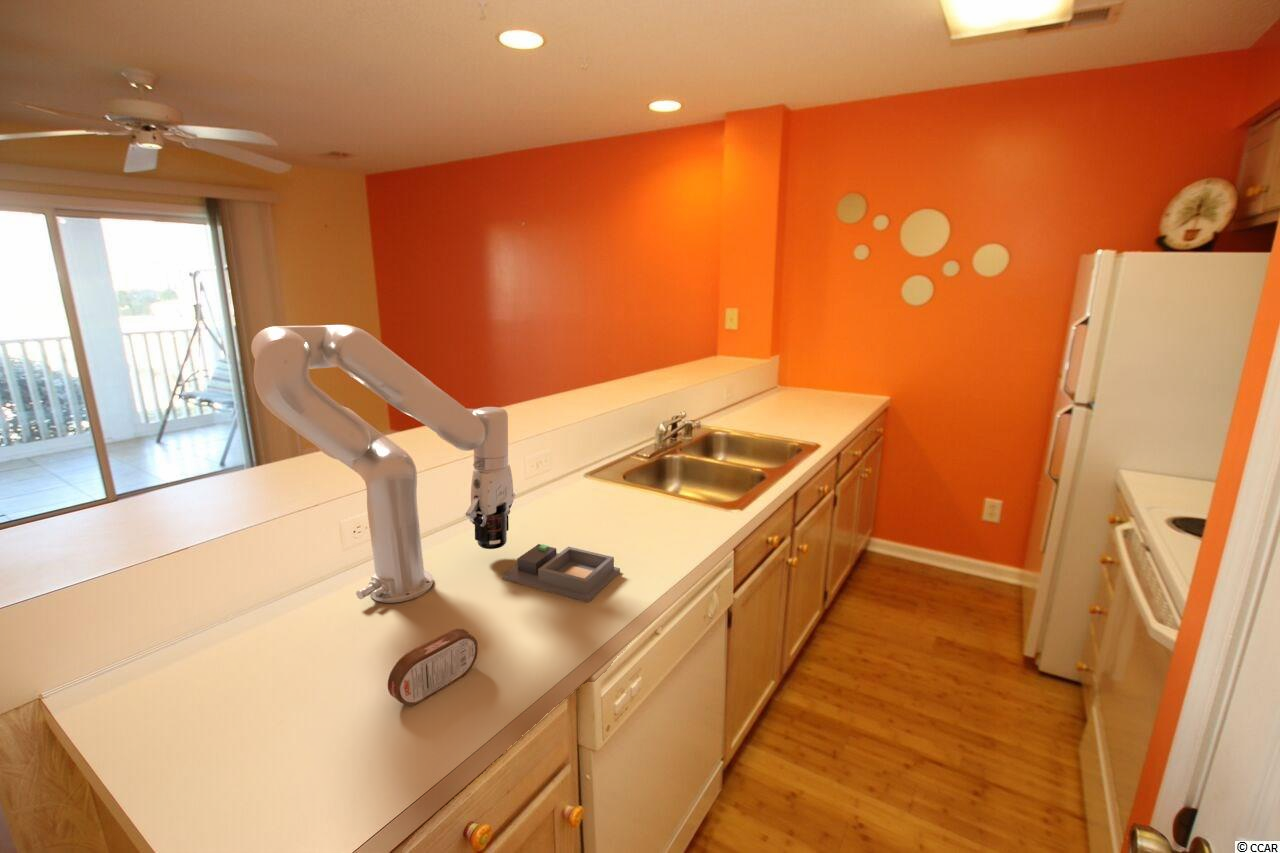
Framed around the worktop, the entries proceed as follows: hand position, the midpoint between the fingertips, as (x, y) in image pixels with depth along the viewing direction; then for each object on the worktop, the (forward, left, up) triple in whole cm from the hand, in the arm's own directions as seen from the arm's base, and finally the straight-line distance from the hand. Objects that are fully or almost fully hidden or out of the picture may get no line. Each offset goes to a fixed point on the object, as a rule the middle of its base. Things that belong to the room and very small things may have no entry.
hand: (492, 534), depth 136 cm
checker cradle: (+1, -19, -6) cm, 20 cm away
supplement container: (0, 0, -3) cm, 3 cm away
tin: (-39, -21, -7) cm, 44 cm away
